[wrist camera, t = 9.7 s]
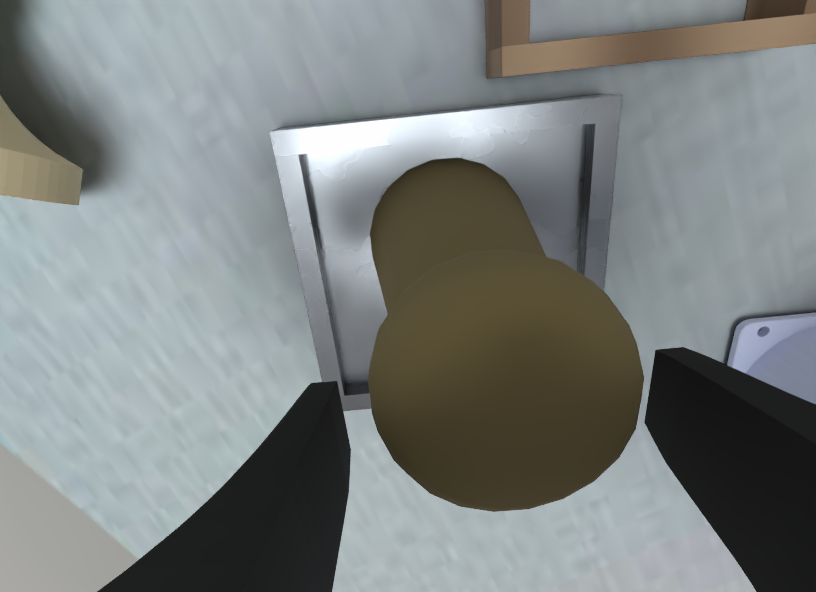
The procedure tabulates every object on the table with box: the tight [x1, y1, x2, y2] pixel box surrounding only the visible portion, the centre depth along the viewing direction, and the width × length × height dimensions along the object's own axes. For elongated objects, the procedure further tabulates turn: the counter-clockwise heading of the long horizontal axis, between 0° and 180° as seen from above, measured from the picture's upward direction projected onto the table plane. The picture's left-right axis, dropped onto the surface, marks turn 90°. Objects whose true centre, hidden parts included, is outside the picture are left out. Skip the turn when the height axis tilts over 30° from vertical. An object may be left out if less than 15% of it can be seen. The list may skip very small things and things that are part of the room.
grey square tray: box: [270, 94, 622, 411], centre depth 18 cm, size 12×12×2 cm
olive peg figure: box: [368, 158, 644, 512], centre depth 12 cm, size 6×6×11 cm
